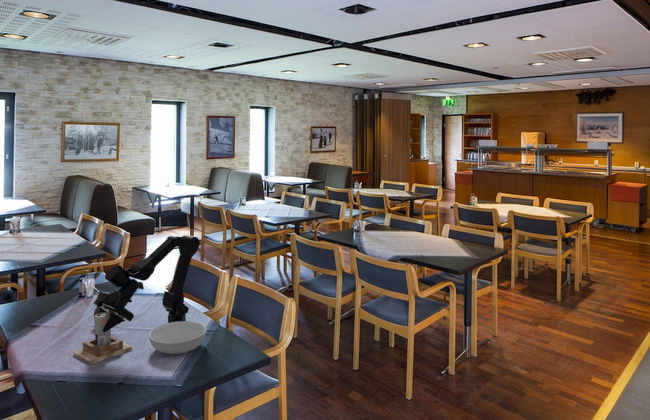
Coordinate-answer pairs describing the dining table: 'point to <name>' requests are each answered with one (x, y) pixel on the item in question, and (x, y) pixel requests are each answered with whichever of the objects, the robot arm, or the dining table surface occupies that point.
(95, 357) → the wooden tray
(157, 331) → the serving bowl
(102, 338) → the energy drink
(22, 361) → the dining table surface
